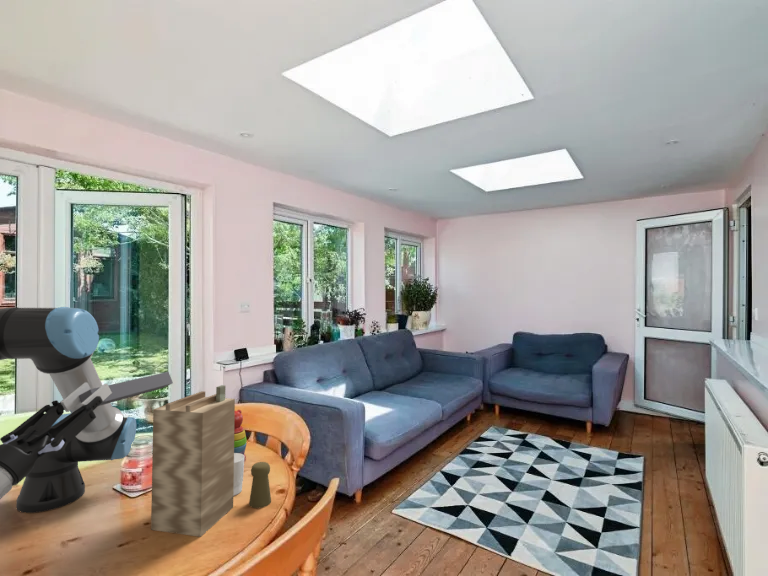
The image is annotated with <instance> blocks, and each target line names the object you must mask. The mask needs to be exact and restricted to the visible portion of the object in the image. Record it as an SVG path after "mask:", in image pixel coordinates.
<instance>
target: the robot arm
mask: <svg viewBox="0 0 768 576" xmlns="http://www.w3.org/2000/svg"><path fill="white" fill-rule="evenodd" d="M99 330H100V329H99V326H98V323H97V320H96V319H95V318H94V316H93V315H92V314H91V313H90V312H89V311H88V310H86V309H82V308H77V307H68V306H60V307H4V308H0V361H2V360H8V359H9V360H10V359H11V360H18V359H20V360H22V359H25V360H26V359H30V360H31V361H32V363H33V364H34V366H35V367H36V369H37V370H38V372H40V373H43V374H46V375H49V376H50V378H51V379H52V381H53V383H54V385H55V387H56V389H57V391H58V392H59V394H60V397H61V398H62V400H61V401H60V402H59V400H53V401H51V404H52V405H50V404H46V405H44V406H42V407H41V408H40V409H39V410H38V411H36V412H35V413H34V414H33V415H31V416H30V417H29V418H27V419H26V420H25V421H23V422H22V423H21V424H20V425H18V426H17V427H16V428H14V429H13V430H12V431H10V432H8V433H6V434H5V435H3V436H2V437H0V441H1V443H2V444H0V500H1V499H2V498H4V496H5V495H7V494H8V493H9V492H10V491H11V490H12V488H13V487H14V486H17V485H18V484H20V483H21V481H22V480H24V481H23V483H22V486H21V487H20V491H19V494H18V495H17V498H16V503H15V506H16V508H17V509H16V510H17V512H20V511H21V513H24V512H26V513H27V514H29V513H30V514H32V513H33V514H34V513H43V512H47V511H52V510H56V509H59V508H61V507H64V506H65V507H66V506H67V505H70V504H72V503H74V502H75V501H77V500H79V499H80V498H81V497H83V495H85V491H86V484H85V481H84V480H83V479H84V478H83V476H82V474H81V471H80V469H79V463H80V462H97V461H98V462H99V461H114V460H122V459H124V458H126V457H127V456H128V455H129V454H130V452H131V450H130V448H131V444H132V442H133V441H134V442H135V438H136V433H137V420H136V418H135V417H134V416H133V417H132V416H127V417H124V415H123V413H122V411H121V410H120V409H119V408H117V407H116V406H112V404H111V403H112V402H111V403H108V404H104V405H100V404H101V403H102V402H103V401H104V400H105V399H106V398H107V397H108V396H109V395H110V394H111V393H112V392H111V390H110V388H109V386H108V385H109V383H104V384H103V383H102V381H101V379H100V377H99V376H100V375H98V371H97V370H96V368H95V365H94V362H93V361H92V357H93V354H94V352H95V351H96V350H97V348H98V345H99V341H100V335H99V334H98V333H99ZM99 387H100V388H99ZM94 388H99V389H98V390H97V391H95V392H94V393H93V394H92V395H91V396H89V397H88V398H87V399H86V400H85V401H84V402H82V403H81V401H80V398H79V395H81V394H83V393H85V392H86V391H88V390H90V389H94ZM99 405H100V406H99ZM64 412H66V413H64ZM134 442H133V443H134ZM131 449H132V448H131Z"/></svg>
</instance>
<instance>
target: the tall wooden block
mask: <svg viewBox="0 0 768 576" xmlns="http://www.w3.org/2000/svg"><path fill="white" fill-rule="evenodd" d="M215 391H216V392H215V394H212V395H210V396H206V391H202V390H201V391H199V392H196V393H193V394H191V395H188V396H187V395H186V396H185V397H181V398H179V399H176V400H174V401H171V402H169V403H165V404H164V405H162V406H159V407H156V408H154V409H153V410H152V414H153V415H152V417H153V418H152V457H151V458H152V464H151V467H152V468H151V510H150V511H151V514H150V519H151V520H150V530H151V531H158V532H163V533H172V534H179V535H187V536H193V537H200V538H201V537H202V536H203V535H204V534H206V533H207V532H208V531H209V530H210V529H211V528H212V527H214V525H216V524H217V522H219V521H220V520H221V519H222V518H223V517H224V516H226V515H227V513H229V512H230V511H231V510H232V509H233V508H234V496H233V487H234V421H235V411H236V409H235V407H236V399H235V398H229V397H227V398H226V385H225V384H224V385H223V384H221V385H218V386H215ZM206 531H207V532H206Z"/></svg>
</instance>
